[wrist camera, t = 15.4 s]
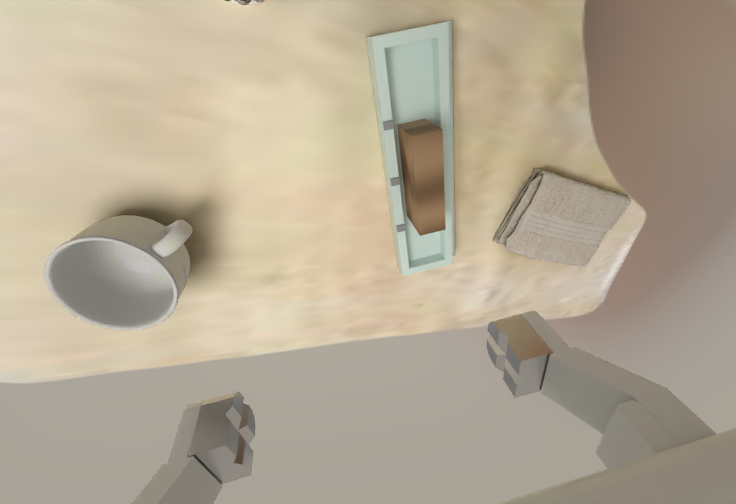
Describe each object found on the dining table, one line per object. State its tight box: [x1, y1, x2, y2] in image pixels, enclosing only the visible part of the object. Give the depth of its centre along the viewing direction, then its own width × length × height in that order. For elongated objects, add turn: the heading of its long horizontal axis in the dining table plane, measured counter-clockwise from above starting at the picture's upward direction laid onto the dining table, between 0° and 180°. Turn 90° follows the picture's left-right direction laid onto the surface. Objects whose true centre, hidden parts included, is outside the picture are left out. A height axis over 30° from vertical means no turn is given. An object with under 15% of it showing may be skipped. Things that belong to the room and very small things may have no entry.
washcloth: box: [493, 168, 631, 266], centre depth 46 cm, size 12×18×3 cm, turn 73°
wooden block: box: [397, 119, 446, 236], centre depth 35 cm, size 11×3×5 cm, turn 10°
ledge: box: [366, 21, 455, 276], centre depth 37 cm, size 27×8×3 cm, turn 10°
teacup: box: [44, 215, 193, 331], centre depth 34 cm, size 14×11×8 cm
